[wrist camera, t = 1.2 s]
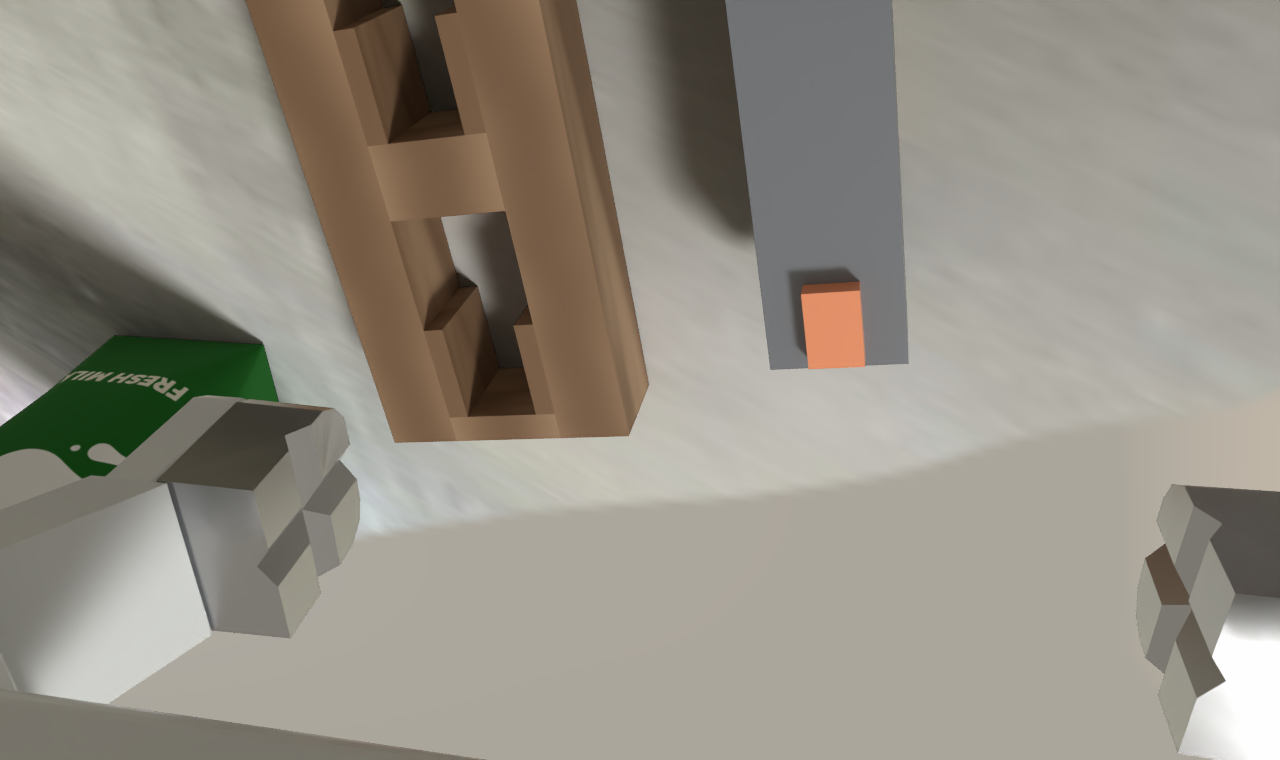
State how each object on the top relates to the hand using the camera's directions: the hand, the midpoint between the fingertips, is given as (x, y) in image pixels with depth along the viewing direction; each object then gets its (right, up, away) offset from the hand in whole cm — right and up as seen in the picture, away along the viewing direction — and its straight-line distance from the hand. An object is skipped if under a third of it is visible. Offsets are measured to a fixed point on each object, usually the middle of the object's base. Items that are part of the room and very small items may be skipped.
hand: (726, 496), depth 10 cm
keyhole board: (-7, +10, +24) cm, 27 cm away
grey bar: (+5, +11, +20) cm, 24 cm away
